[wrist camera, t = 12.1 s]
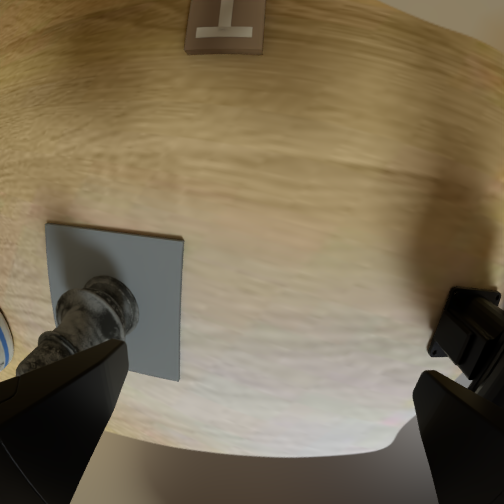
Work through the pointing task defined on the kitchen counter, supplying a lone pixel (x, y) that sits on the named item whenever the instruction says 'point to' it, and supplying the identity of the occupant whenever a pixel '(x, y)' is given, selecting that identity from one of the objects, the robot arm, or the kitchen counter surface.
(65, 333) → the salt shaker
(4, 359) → the supplement tub
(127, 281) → the slate mat
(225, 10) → the letter tile
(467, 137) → the kitchen counter surface
